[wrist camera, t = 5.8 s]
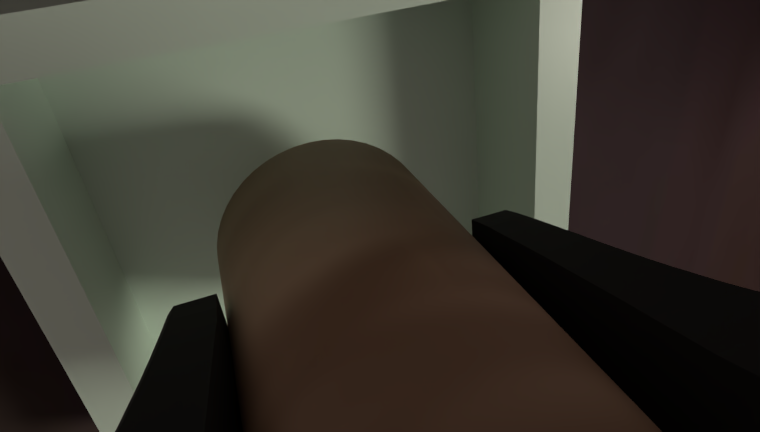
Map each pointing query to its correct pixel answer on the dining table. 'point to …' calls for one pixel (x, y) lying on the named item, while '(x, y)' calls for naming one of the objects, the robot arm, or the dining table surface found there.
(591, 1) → the dining table surface
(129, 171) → the tray
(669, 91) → the dining table surface
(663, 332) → the robot arm
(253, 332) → the plug
